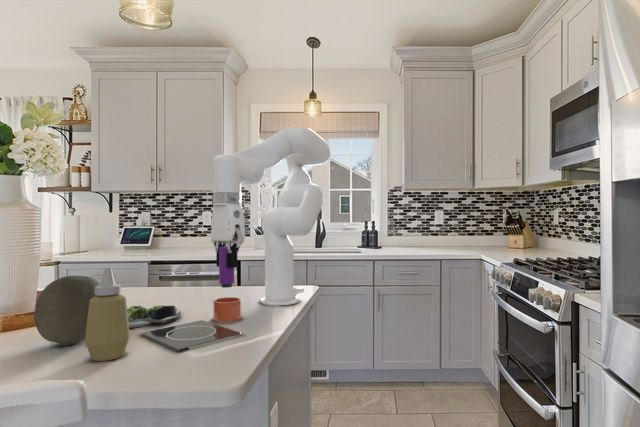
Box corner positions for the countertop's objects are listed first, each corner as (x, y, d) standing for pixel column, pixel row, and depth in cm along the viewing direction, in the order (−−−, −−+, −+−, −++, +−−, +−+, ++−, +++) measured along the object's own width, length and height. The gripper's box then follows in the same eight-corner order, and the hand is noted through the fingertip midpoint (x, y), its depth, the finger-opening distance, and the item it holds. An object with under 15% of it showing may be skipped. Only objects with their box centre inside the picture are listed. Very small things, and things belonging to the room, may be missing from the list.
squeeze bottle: (138, 352, 83) (138, 266, 83) (106, 366, 76) (106, 271, 76) (109, 348, 86) (109, 264, 86) (74, 361, 78) (75, 269, 78)
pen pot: (230, 315, 115) (230, 296, 115) (246, 319, 110) (246, 299, 110) (208, 320, 109) (208, 300, 109) (223, 325, 104) (223, 303, 104)
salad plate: (91, 333, 97) (91, 314, 97) (111, 315, 114) (111, 299, 115) (175, 327, 102) (175, 309, 102) (182, 311, 119) (182, 296, 119)
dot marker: (228, 285, 112) (228, 245, 112) (237, 286, 110) (236, 246, 110) (216, 286, 109) (216, 246, 109) (224, 288, 107) (224, 247, 107)
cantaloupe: (89, 351, 84) (89, 280, 84) (18, 353, 83) (18, 281, 83) (118, 332, 98) (118, 271, 98) (58, 334, 97) (58, 272, 97)
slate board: (201, 322, 107) (201, 319, 107) (241, 335, 95) (241, 332, 95) (141, 335, 96) (141, 332, 96) (178, 352, 83) (178, 348, 83)
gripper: (256, 199, 107) (256, 268, 107) (221, 201, 118) (221, 263, 118) (233, 198, 101) (232, 270, 101) (198, 201, 113) (198, 265, 113)
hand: (226, 266), depth 110 cm, fingers closed on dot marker, 4 cm apart
